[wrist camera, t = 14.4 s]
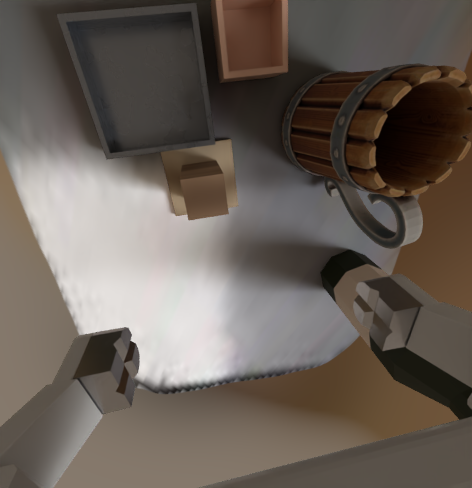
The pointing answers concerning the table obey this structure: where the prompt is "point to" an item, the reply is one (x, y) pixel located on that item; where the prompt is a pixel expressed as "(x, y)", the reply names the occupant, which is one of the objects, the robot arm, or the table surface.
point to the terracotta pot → (250, 38)
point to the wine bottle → (399, 359)
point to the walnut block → (203, 190)
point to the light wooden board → (197, 155)
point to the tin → (142, 77)
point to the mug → (381, 138)
